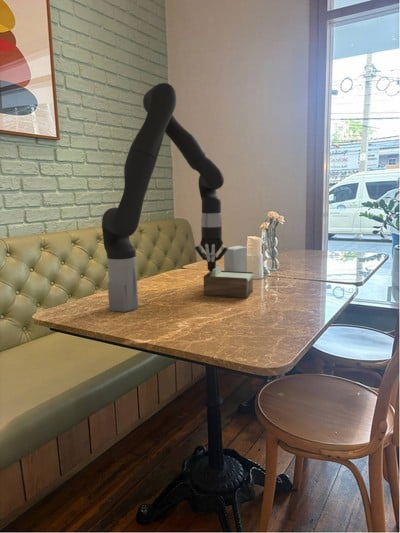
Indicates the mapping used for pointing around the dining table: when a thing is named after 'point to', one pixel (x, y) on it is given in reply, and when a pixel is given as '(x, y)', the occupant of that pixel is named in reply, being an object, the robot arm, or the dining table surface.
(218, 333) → the dining table surface
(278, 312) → the dining table surface
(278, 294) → the dining table surface
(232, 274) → the lid
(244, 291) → the box
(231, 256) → the skincare box
